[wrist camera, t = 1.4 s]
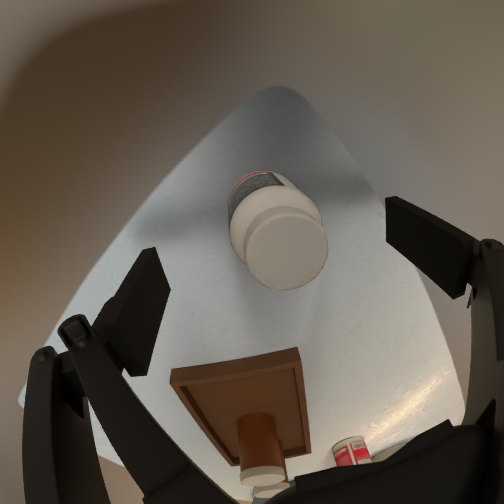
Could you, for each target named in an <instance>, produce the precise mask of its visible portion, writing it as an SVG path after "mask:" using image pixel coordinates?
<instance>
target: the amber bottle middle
mask: <svg viewBox="0 0 504 504" xmlns="http://www.w3.org/2000/svg"><path fill="white" fill-rule="evenodd" d="M237 428H238V443H239V457H240V470H241V473H240V480H241V483H242V484H243V485H246V486H268V485H273V484H276V483H279V482H281V481H283V480H284V479H285V473H284V469H283V467H282V461H281V455H280V449H279V444H278V438H277V432H276V426H275V420H274V418H273V417H272V416H271V415H269V414H265V413H253V414H248V415H245V416H243V417H241V418H240V419H239V420H238V422H237Z"/></svg>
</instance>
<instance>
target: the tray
mask: <svg viewBox="0 0 504 504" xmlns="http://www.w3.org/2000/svg"><path fill="white" fill-rule="evenodd" d="M169 383H170V384H171V386H172V387H173V389H174V390H175V392H176V394H177V395H178V397H179V398H180V400H181V401H182V402H183V404H184V405H185V407H186V408H187V410H188V411H189V413H190V414H191V415H192V417H193V418H194V420H195V421H196V422H197V424H198V425H199V426H200V428H201V429H202V431H203V432H204V433H205V434H206V436H207V437H208V438H209V440H210V441H211V442H212V444H213V445H214V446H215V447H216V449H217V450H218V451H219V452H220V454H221V455H222V456H223V457H224V458H225V460H226V461H227V462H228V463H229V464H230V466H240V457H239V443H238V428H237V422H238V420H239V419H240V418H241V417H243V416H245V415H248V414H253V413H265V414H269V415H271V416H272V417H273V418H274V420H275V426H276V432H277V438H278V439H279V440H281V442H282V448H283V454H284V459H287V458H292V457H297V456H301V455H306V454H310V453H311V444H310V434H309V424H308V414H307V405H306V396H305V388H304V379H303V371H302V363H301V358H300V355H299V351H298V348H297V347H296V348H291V349H287V350H283V351H278V352H274V353H269V354H264V355H259V356H254V357H249V358H243V359H238V360H232V361H226V362H220V363H214V364H207V365H200V366H193V367H185V368H177V369H172V370H171V375H170V382H169Z"/></svg>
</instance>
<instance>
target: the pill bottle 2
mask: <svg viewBox="0 0 504 504" xmlns="http://www.w3.org/2000/svg"><path fill="white" fill-rule="evenodd" d="M332 451H333V455H334V458H335V461H336V465H337V466H346V465H356V464H365V463H372V460H371V457H370V455H369V452H368V449H367V447H366V444H365V442H364V439H363V438H362V437H352V438H349V439H346V440H343V441H341V442H339V443H338V444H336V445H335V446H334V447H333V450H332Z"/></svg>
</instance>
